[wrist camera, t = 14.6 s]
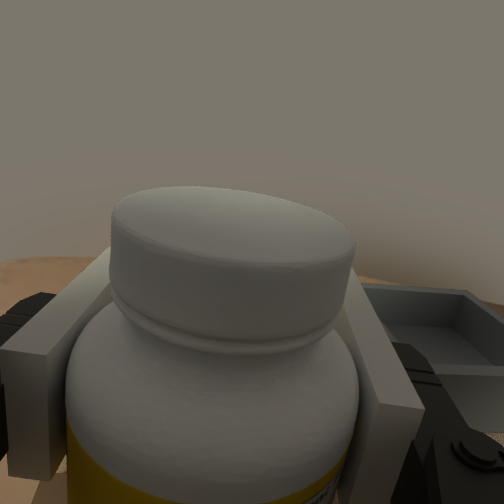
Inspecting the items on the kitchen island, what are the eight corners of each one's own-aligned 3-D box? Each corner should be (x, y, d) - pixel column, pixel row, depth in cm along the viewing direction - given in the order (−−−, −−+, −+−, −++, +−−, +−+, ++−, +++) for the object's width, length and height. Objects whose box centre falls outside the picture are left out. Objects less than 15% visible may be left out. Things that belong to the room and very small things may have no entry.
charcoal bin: (452, 331, 31) (466, 290, 30) (561, 432, 22) (588, 378, 21) (327, 325, 30) (337, 280, 28) (389, 431, 20) (408, 373, 19)
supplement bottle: (58, 530, 11) (50, 169, 8) (237, 472, 14) (290, 182, 10) (82, 832, 7) (89, 306, 3) (339, 664, 9) (486, 269, 6)
